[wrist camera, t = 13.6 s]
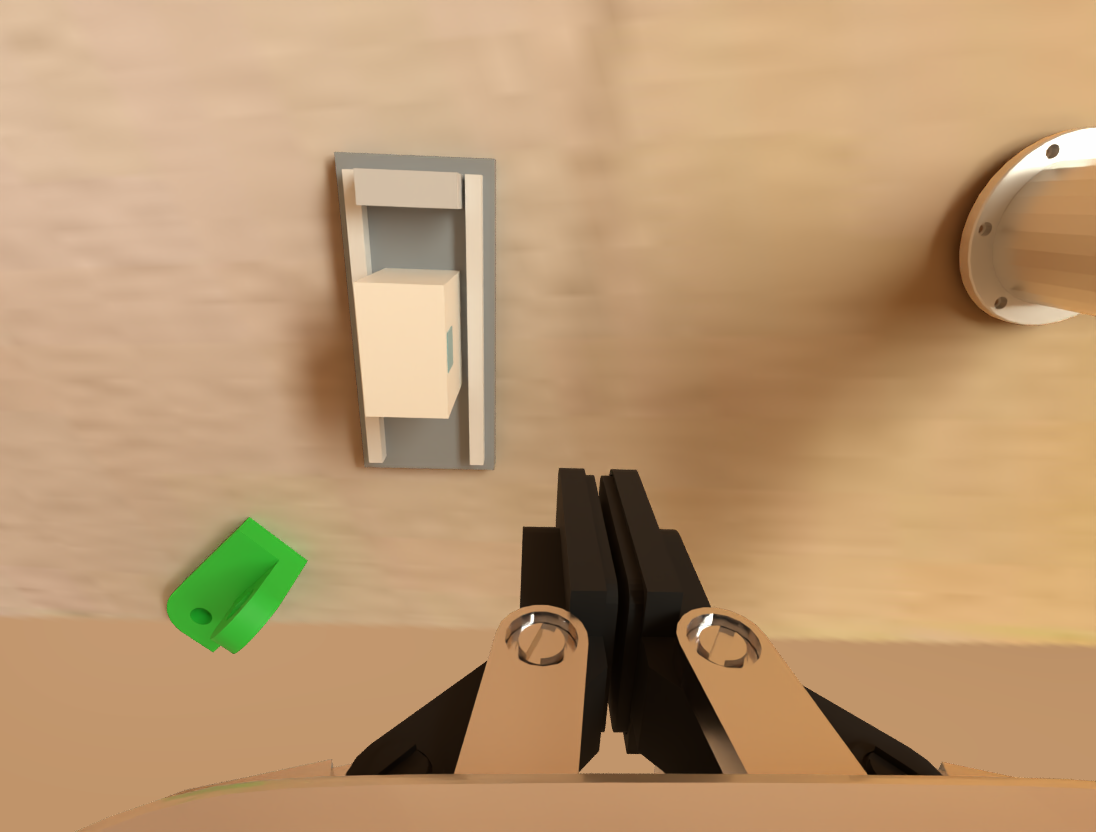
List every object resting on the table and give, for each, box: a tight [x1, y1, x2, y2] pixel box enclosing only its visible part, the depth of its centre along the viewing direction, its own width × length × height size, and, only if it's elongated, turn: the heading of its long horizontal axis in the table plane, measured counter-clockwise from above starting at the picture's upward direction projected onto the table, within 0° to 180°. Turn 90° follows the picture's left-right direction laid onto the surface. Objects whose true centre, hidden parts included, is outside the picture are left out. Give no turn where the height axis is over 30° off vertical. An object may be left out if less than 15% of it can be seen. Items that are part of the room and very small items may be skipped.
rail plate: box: [334, 152, 496, 470], centre depth 37 cm, size 10×22×4 cm, turn 178°
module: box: [353, 268, 462, 419], centre depth 35 cm, size 5×8×7 cm, turn 178°
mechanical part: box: [167, 517, 307, 654], centre depth 43 cm, size 12×6×8 cm, turn 133°
